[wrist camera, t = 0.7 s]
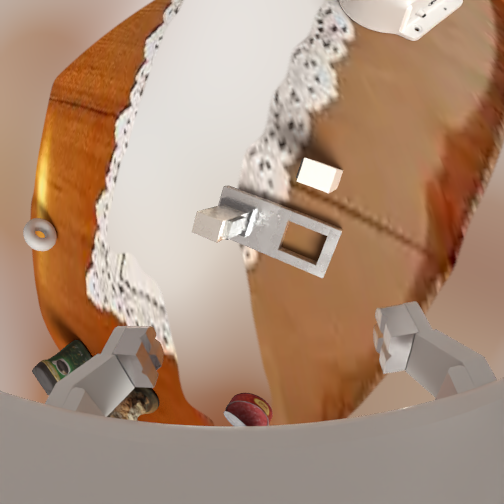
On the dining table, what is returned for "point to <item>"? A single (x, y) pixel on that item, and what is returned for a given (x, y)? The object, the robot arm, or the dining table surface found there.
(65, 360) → the coffee jar
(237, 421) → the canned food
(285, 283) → the dining table surface
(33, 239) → the donut
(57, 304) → the dining table surface
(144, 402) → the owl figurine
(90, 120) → the dining table surface
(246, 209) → the steel rail
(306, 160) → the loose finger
